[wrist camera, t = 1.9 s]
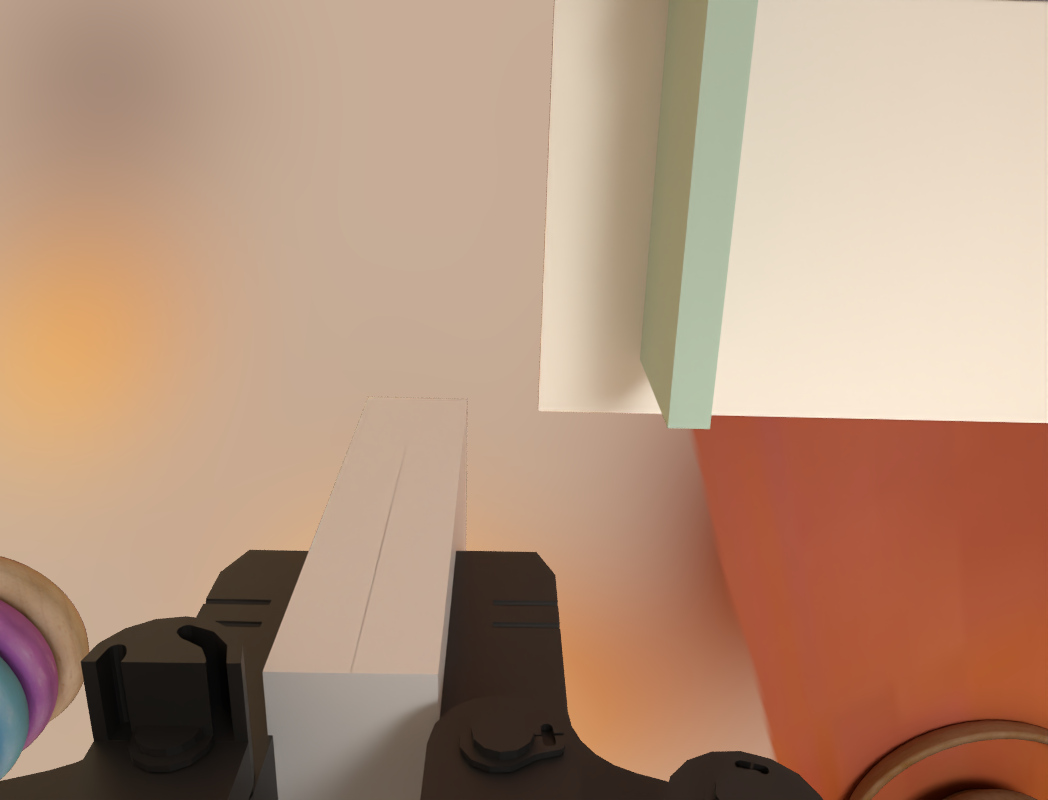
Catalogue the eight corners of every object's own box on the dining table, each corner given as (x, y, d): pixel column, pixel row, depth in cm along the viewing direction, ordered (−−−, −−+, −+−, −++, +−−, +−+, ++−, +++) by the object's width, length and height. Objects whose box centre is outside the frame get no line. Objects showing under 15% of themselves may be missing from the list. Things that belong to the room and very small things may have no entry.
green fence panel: (710, -23, 28) (762, -38, 22) (674, 360, 32) (710, 428, 26) (670, -24, 28) (712, -39, 22) (639, 359, 32) (667, 428, 26)
